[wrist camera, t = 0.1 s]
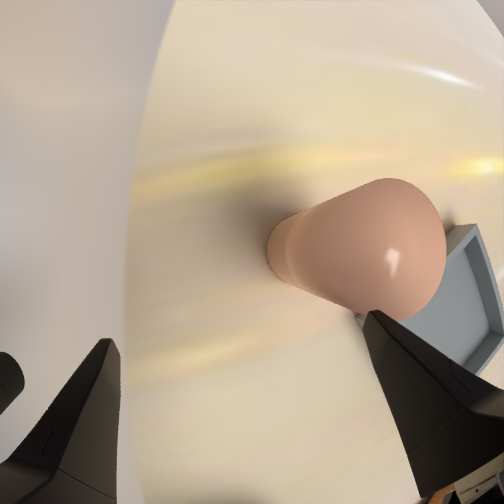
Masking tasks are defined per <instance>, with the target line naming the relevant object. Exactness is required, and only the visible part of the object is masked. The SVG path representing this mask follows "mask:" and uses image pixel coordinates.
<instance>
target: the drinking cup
mask: <svg viewBox="0 0 504 504" xmlns="http://www.w3.org/2000/svg"><path fill="white" fill-rule="evenodd" d="M24 384H25V381H24V375H23V372H22V370H21V368H20V366H19V364H18V363H17V362H16V360H15V359H14V358H13V357H12V356H10V355H9V354H7V353H5V352H0V415H1V414H2V413H3V411H4V410H5V409H6V408H7V407H8V406H9V405H10V404H11V403H12V402H13V400H14V399H15V398H16V397H17V396H18V395H19V394H20V393H21V392H22V391H23V389H24Z"/></svg>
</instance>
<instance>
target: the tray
mask: <svg viewBox="0 0 504 504" xmlns="http://www.w3.org/2000/svg"><path fill="white" fill-rule="evenodd" d="M445 237H446V263H445V268H444V273H443V276H442V279H441V282H440V284H439V287H438V289H437V290H436V292H435V294H434V296H433V297H432V298H431V300H430V301H429V302H428V303H427V304H426V306H425V307H424V308H422V309H421V310H420V311H419V312H417V313H416V314H414V315H413V316H411V317H409V318H407V319H404V320H401V321H397V322H398V323H400V324H401V325H403V326H404V327H406V328H407V329H409V330H410V331H412V332H413V333H414V334H416V335H417V336H419V337H420V338H422V339H423V340H425V341H426V342H427V343H429V344H430V345H432V346H433V347H435V348H436V349H437V350H439V351H440V352H442V353H443V354H445V355H446V356H447V357H448V358H450V359H452V360H453V361H455V362H456V363H458V364H459V365H461V366H462V367H463V368H465V369H467V370H468V371H470V372H471V373H473V374H475V375H476V376H479V375H480V373H481V372H482V371H483V370H484V368H485V367H486V366H487V365H488V363H489V362H490V361H491V359H492V358H493V357H494V355H495V354H496V353H497V351H498V350H499V349H500V347H501V346H502V344H503V343H504V310H503V306H502V302H501V298H500V294H499V290H498V286H497V283H496V279H495V276H494V272H493V269H492V266H491V263H490V260H489V257H488V254H487V251H486V248H485V245H484V242H483V239H482V237H481V234H480V231H479V229H478V226H477V224H468V225H458V226H454V227H453V228H452V229H451V231H450V232H449V233H448V234H447V235H446V236H445ZM355 318H356V320H357V322H358V324H359V325H360V327H361V329H362V331H363V324H364V321H365V319H366V316H365V315H362V314H359V315H358V316H357V317H355Z"/></svg>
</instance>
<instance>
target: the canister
mask: <svg viewBox="0 0 504 504" xmlns="http://www.w3.org/2000/svg"><path fill="white" fill-rule="evenodd" d="M266 250H267V259H268V263H269V265H270V268H271V269H272V271H273V272H274V274H275V275H276V276H277V277H278V278H279V279H280V280H282V281H283V282H285V283H287V284H289V285H292V286H294V287H297V288H299V289H301V290H304V291H306V292H309V293H311V294H314V295H316V296H318V297H321V298H323V299H326V300H328V301H331V302H333V303H335V304H338V305H340V306H343V307H345V308H348V309H350V310H353V311H355V312H357V313H360V314H362V315H365V316H367V313H368V312H369V311H371V310H376V309H378V310H381V311H382V312H384V313H385V314H387V315H388V316H390V317H391V318H393V319H394V320H395V321H401V320H404V319H407V318H409V317H411V316H413V315H414V314H416V313H417V312H419V311H420V310H421V309H422V308H424V307H425V306H426V304H427V303H428V302H429V301H430V300H431V298H432V297H433V296H434V294H435V292H436V290H437V289H438V287H439V284H440V282H441V279H442V276H443V273H444V268H445V263H446V237H445V232H444V228H443V225H442V221H441V219H440V216H439V214H438V212H437V210H436V208H435V207H434V205H433V204H432V202H431V201H430V199H429V198H428V197H427V196H426V195H425V194H424V193H423V192H422V191H421V190H420V189H418V188H417V187H415V186H414V185H412V184H410V183H408V182H406V181H403V180H400V179H394V178H384V179H378V180H375V181H372V182H370V183H367V184H365V185H363V186H360V187H358V188H356V189H353V190H351V191H348V192H346V193H344V194H341V195H339V196H337V197H334V198H332V199H330V200H328V201H325V202H323V203H321V204H318V205H316V206H314V207H311V208H309V209H307V210H304V211H302V212H300V213H298V214H295V215H293V216H291V217H288V218H286V219H284V220H283V221H281V222H280V223H279V224H278V225H277V226H276V227H275V228H274V229H273V230H272V232H271V234H270V236H269V239H268V242H267V248H266Z"/></svg>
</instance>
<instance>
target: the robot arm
mask: <svg viewBox="0 0 504 504" xmlns="http://www.w3.org/2000/svg"><path fill="white" fill-rule="evenodd" d="M363 334H364V337H365V340H366V344H367V347H368V350H369V354H370V357H371V361H372V364H373V367H374V369H375V372H376V374H377V377H378V379H379V382H380V384H381V387H382V389H383V392H384V394H385V397H386V399H387V402H388V405H389V407H390V410H391V412H392V415H393V418H394V420H395V423H396V426H397V429H398V431H399V434H400V437H401V440H402V442H403V445H404V448H405V451H406V454H407V455H408V456H407V457H408V460H409V463H410V466H411V469H412V472H413V475H414V478H415V481H416V485H417V488H418V491H419V494H420V497H421V498H424V497H426V496H428V495H431V494H433V493H435V492H437V491H439V490H441V489H443V488H445V487H447V486H449V485H451V484H452V485H453V487H454V490H452V491H451V492H449V493H447V494H446V495H445V496H444V499H443V502H442V504H504V390H502V389H500V388H497V387H495V386H494V385H492V384H490V383H488V382H487V381H485V380H483V379H482V378H480V377H478V376H476V375H475V374H473V373H471V372H470V371H468V370H467V369H465V368H463V367H462V366H461V365H459V364H458V363H456V362H455V361H453V360H452V359H450V358H448V357H447V356H446V355H445V354H443V353H442V352H440V351H439V350H437V349H436V348H435V347H433V346H432V345H430V344H429V343H427V342H426V341H425V340H423V339H422V338H420V337H419V336H417V335H416V334H414V333H413V332H412V331H410V330H409V329H407V328H406V327H404V326H403V325H401V324H400V323H398V322H397V321H395V320H394V319H393V318H391V317H390V316H388V315H387V314H385V313H384V312H382V311H381V310H378V309H376V310H371V311H369V312H368V313H367V316H366V319H365V321H364V324H363ZM120 393H121V391H120V354H119V351H118V349H117V348H116V345H115V343H114V341H113V340H112V339H111V338H102V339H100V340H99V341H98V343H97V344H96V345H95V346H94V348H93V349H92V350H91V352H90V353H89V354H88V355H87V357H86V358H85V359H84V361H83V362H82V363H81V365H80V366H79V367H78V368H77V370H76V371H75V372H74V374H73V375H72V376H71V378H70V379H69V380H68V381H67V383H66V384H65V385H64V387H63V388H62V390H61V391H60V392H59V394H58V395H57V396H56V398H55V399H54V400H53V402H52V403H51V405H50V406H49V407H48V410H46V412H45V413H44V414H43V416H42V417H41V419H40V420H39V421H38V423H37V424H36V425H35V427H34V428H33V429H32V430H31V432H30V433H29V434H28V435H27V437H26V438H25V439H24V440H23V441H22V442H21V444H20V445H19V446H18V447H17V448H16V449H15V451H14V452H13V453H12V454H11V455H10V456H9V458H8V459H6V460H5V461H4V462H2V463H1V464H0V504H117V500H116V499H117V496H116V471H117V468H116V467H117V440H118V439H117V438H118V424H119V411H120V396H121V395H120Z"/></svg>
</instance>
